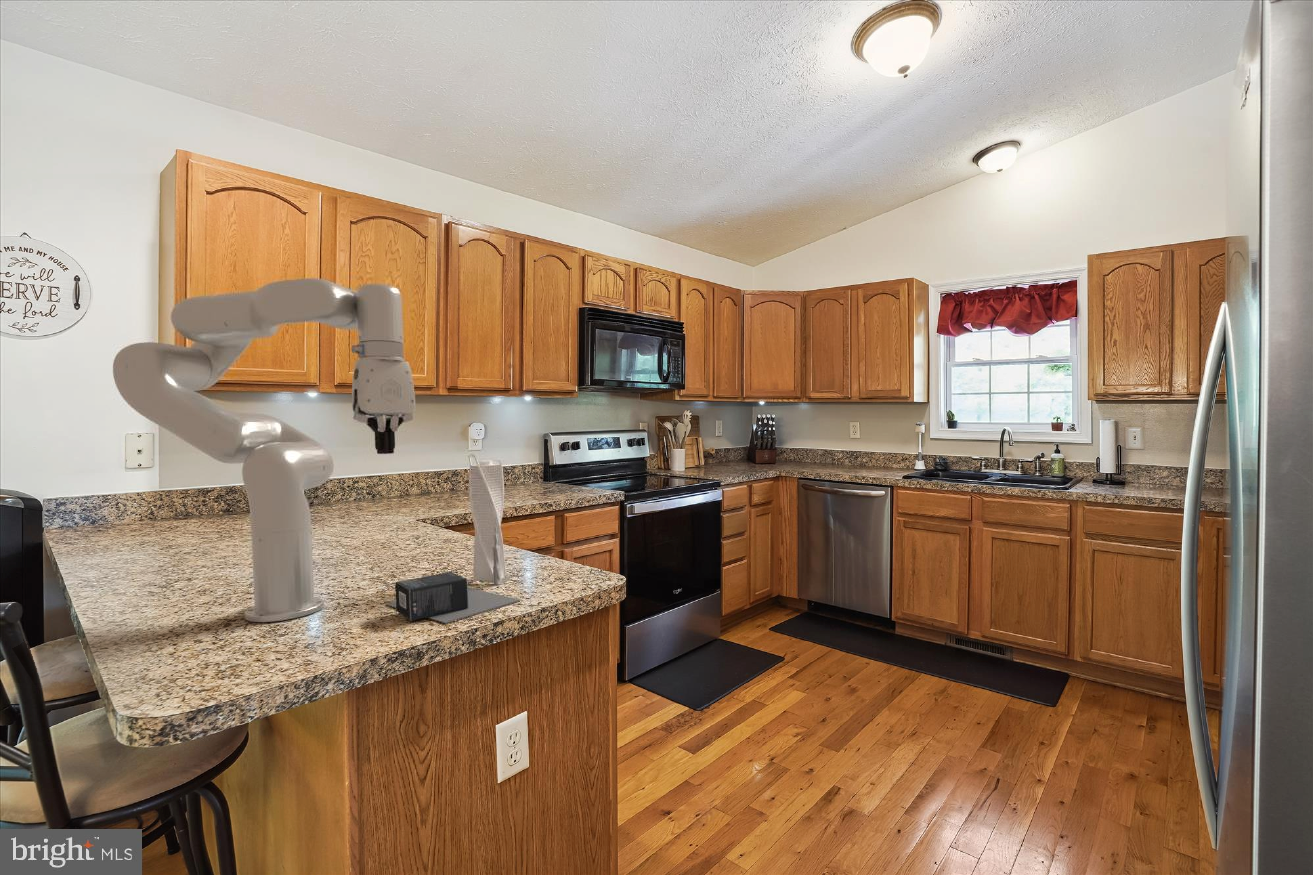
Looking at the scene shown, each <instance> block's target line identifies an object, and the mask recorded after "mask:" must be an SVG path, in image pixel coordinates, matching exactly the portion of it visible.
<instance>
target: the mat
mask: <svg viewBox="0 0 1313 875" xmlns="http://www.w3.org/2000/svg"><path fill="white" fill-rule="evenodd" d="M519 602H521V599H517V598H515V597H509V596H505V595H502V594H498V593H493V592H491V591H490V592H489V591H486V590H482V589H478V588H473V587H469V586H468V608H466V609H462V610H458V611H453V612H449V613H445V614H440V615H436V616H431V617H427V618H430V619H433V620H436V621H435V622H437V621H439V622H438V623H440V622H442V623H441V624H443V623H445V624H444V625H447V623H448V624H450V623H449V622H451V623H454V622H453V621H455V620H458V621H460V619H461V618H464V619H466V618H465V617H468V616H471V617H474V616H475V615H474V614H477V615H480V613H481V614H484V613H486V612H490V611H493V610H497V609H500V608H503V607H506V606H510V605H513V604H516V603H519ZM386 604H387V605H389V606H393V607H394V608H393V609H396V600H395V601H391V602H388V603H386ZM389 606H388V607H389ZM483 612H484V613H483ZM473 615H474V616H473ZM427 618H426V619H427ZM468 618H469V617H468ZM430 619H429V620H430ZM433 620H432V621H433ZM461 620H462V619H461ZM455 622H456V621H455Z"/></svg>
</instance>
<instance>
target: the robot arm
mask: <svg viewBox="0 0 1313 875" xmlns="http://www.w3.org/2000/svg"><path fill="white" fill-rule="evenodd" d="M170 313H171V314H170V320H171V325H172V326H173V328H174V329H175V331H176V332H178V333H179V335H181V337H184V338H185V339H186V340H188V341H192V342H193V343H192V345H191V346H190V347H188V346H182V345H175V344H169V343H162V342H153V341H152V342H151V341H147V342H146V341H145V342H137V343H133V344H129V345H127V346H125V347H123V348H122V349H120V350H119V351H118V352H117V354H116V355H115V356H114V359H113V363H112V375H113V380H114V384H115V386H116V389H117V390H118V393H119V395H120V396H121V397H122V398H123V400H124V401H125V402H126V403H127V405H128V406H130V407H131V408H132V409H133V410H134V411H135V412H137V413H138V414H140V415H141V416H143V417H144V418H146V419H147V420H149V421H151V422H153V423H154V424H156V425H157V426H159V427H161V428H163V429H164V430H166V431H168V432H170V433H172V434H174V436H176V437H178V438H179V439H181V440H182V441H184V442H185V443H187V444H189V445H191V446H193V447H194V448H196V449H197V450H199V451H200V452H203V453H204V454H206V455H207V456H208V457H210V458H212V459H214V460H216V461H218V462H220V463H224V464H242V468H241V474H242V481H243V486H244V487H245V492H246V497H247V499H248V506H249V516H250V532H251V551H252V553H251V554H252V576H253V577H252V578H253V597H254V598H253V599H254V602H253V603H254V605H253V606H251V607H249V608H248V609H246V610H245V611H244V619H245V620H246V621H248V622H251V623H271V622H280V621H287V620H293V619H297V618H301V617H304V616H305V617H306V616H309V615H311V614H314V613H316V612H318V611H320V610H322V609H323V607H324V606H325V603H324V599H323V598H321V597H317V596H315V584H314V583H315V582H314V581H315V580H314V564H313V562H314V558H313V536H312V535H313V534H312V532H313V531H312V515H311V511H310V506H309V502H308V500H307V497H306V495H305V492H304V491H305V490H310V489H314V488H318V487H319V486H322V485H323V484H325V483H326V482H327V481H328V480H329V479H330V478H331V476H332V475H333V472H334V461H333V456H332V455H331V452H330V451H329V450H328V449H327V448H326V447H325V446H324V445H322V443H320V442H318V441H317V440H315V439H314V438H312V437H310V436H308V435H306V434H305V433H304V432H301V431H300V430H299V429H297V428H295V427H293V426H291V425H290V424H288V423H286V422H285V421H283V420H281V419H279V418H277V417H275V416H273V415H272V416H271V415H268V414H263V413H249V412H248V413H246V412H245V413H244V412H237V411H236V412H235V411H232V410H230V409H229V408H226V407H224V406H222V405H220V404H219V403H217V402H214V401H213V400H212V399H210V398H209V397H207V396H205V395H203V394H201V393H199V391H204V390H206V389H209V388H210V387H212V386H214V385H216V384H217V382H219V380H220V379H221V378H222V377H223V376H224V375H225V374H226V373H227V371H228V370H229V369H230V368H231V367H232V365H234V363H235V362H236V361H237V360H238V359H239V358H240V357H241V356H242V354H243V353H244V352H245V351H246V349H247V348H248V347H249V346H250V345H251V343H252V341H253V339H264V338H265V339H266V338H270V337H273V336H274V335H276V334H277V332H278V330H279V328H280V325H288V324H297V323H318V324H319V323H320V324H324V325H327V326H329V327H332V328H333V327H334V328H336V329H340V330H346V331H349V330H350V331H352V330H353V331H354V330H357V338H358V342H357V344H354V345H352V346H351V352H352V353H353V354H354V353H356V354H357V358H358V359H357V360H355V364H354V367H353V368H354V369H353V375H352V383H351V384H352V385H351V386H352V387H351V406H352V411H353V417H352V418H353V421H354V422H356V423H357V422H358V423H361V424H366V426H368V427H369V428H370V429H371V432H373V433H374V449H375V450H376V453H377V455H388V454H389V455H391V454H394V453H395V448H396V436H395V435H396V433H395V432H398V428H399V427H400V426H401V425H402V424H403V423H406V422H407V423H408V422H410V421H413V419H414V415H413V413H415V412H416V408H417V407H416V395H415V387H414V386H415V385H414V379H413V375H412V374H413V373H412V369H411V366H410V363H409V361H405V356H404V355H405V354H404V353H405V352H404V328H403V327H404V326H403V325H404V324H403V301H402V293H401V291H400V290H399V289H398V288H397V287H395V286H393V285H390V284H385V283H384V284H383V283H369V284H368V283H367V284H363V285H362V284H361V286H359V287H358V289H357V290H354V289H351V288H347V287H345V286H343V285H340V284H338V283H335V282H332V281H329V280H326V279H323V278H315V277H313V278H312V277H308V278H297V279H288V280H285V279H284V280H277V281H273V282H272V281H271V282H270V283H267V284H265V285H263V286H261V287H259V288H257V289H255V290H252V291H240V292H232V293H223V294H222V293H219V294H210V295H200V296H192V297H188V298H184V299H182V300H181V301H179V302H177V303H176V304H175V305H174V307H173V308H172V310H171V312H170Z"/></svg>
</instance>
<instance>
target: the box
mask: <svg viewBox="0 0 1313 875" xmlns="http://www.w3.org/2000/svg"><path fill="white" fill-rule="evenodd" d="M468 585H469V582H468V579H467V578H466V577H463V576H461V575H458V574H456V573H455V572H453V571H447V572H442V573H436V574H432V575H426V576H421V577H415V578H411V579H406V580H400V581H395V585H394V586H395V588H394V589H395V592H394V593H395V601H396V608H395V609H396V612H397V613H399V614H400V615H401V616H403V617H405V618H407V619H408V620H409V621H410V622H413V621H417V620H422V619H427V617H431V616H436V615H440V614H445V613H449V612H453V611H458V610H462V609H466V608H468V587H469V586H468Z"/></svg>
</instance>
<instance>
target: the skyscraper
mask: <svg viewBox="0 0 1313 875" xmlns="http://www.w3.org/2000/svg"><path fill="white" fill-rule="evenodd" d="M471 457H472V458H474V460H475V463H476V464H472V458H471ZM468 463H469V474H468V476H469V478H468V482H469V483H468V486H469V488H468V489H469V492H468V494H469V505H470V511H471V517H472V522H473V523H472V524H473V526H474V531H475V533H474V543H473V545H474V547H473V570H472V571H473V573H472V576H473V577H472V582H475V581H479V582H492V583H493V582H494V584H491V585H490V586H502V585H503V584H504V582H505V583H506V582H508V581H509V580H511V579H512V578H514V576H513V575H507V567H506V566H507V565H506V557H505V555H506V554H505V548H504V541H503V540H504V539H503V534H502V529H501V525H502V524H501V523H502V520H503V513H504V505H505V504H504V503H505V481H504V469H503V468H504V467H503V463H502V462H501V460H496V459H494V460H478V458H477V457H476V456H475V455H474V454H473V453H470V454H469V455H468ZM510 578H511V579H510ZM507 580H508V581H507ZM502 583H503V584H502Z"/></svg>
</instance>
